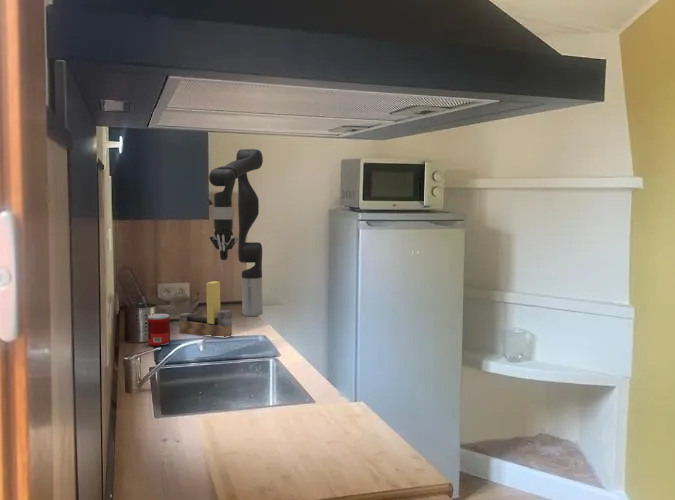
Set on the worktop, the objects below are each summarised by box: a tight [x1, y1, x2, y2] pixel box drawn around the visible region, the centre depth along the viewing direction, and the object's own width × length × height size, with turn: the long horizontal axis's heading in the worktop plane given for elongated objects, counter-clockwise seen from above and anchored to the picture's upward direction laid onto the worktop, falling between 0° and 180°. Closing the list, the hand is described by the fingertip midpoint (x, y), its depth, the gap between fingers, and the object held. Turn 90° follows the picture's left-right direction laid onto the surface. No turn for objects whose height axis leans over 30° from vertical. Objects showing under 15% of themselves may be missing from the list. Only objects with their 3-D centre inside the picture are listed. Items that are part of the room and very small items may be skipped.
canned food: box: [147, 313, 171, 347], centre depth 251 cm, size 8×8×11 cm
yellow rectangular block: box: [205, 280, 221, 324], centre depth 263 cm, size 3×5×16 cm, turn 153°
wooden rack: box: [178, 309, 233, 337], centre depth 266 cm, size 23×4×10 cm, turn 63°
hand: (224, 259), depth 274 cm, fingers closed
